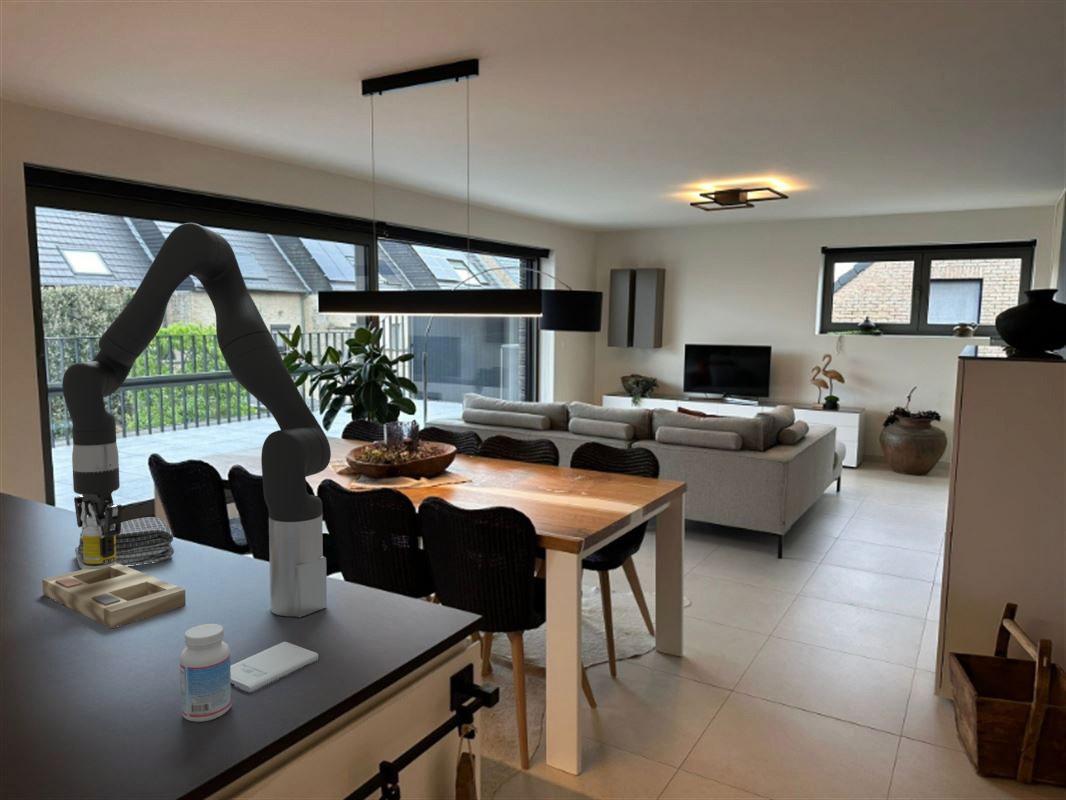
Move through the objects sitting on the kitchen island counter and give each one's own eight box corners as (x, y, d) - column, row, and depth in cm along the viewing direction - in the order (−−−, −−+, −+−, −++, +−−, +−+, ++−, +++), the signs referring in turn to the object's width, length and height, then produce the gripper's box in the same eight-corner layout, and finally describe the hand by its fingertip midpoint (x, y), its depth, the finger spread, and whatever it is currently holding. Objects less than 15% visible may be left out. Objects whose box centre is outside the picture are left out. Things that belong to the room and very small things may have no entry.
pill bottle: (241, 704, 98) (239, 625, 97) (207, 727, 92) (205, 643, 91) (206, 696, 100) (203, 618, 99) (170, 718, 94) (168, 635, 93)
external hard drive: (318, 663, 112) (250, 697, 101) (283, 650, 116) (214, 681, 105) (318, 653, 111) (249, 686, 101) (283, 640, 116) (213, 670, 105)
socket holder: (185, 605, 132) (185, 587, 132) (111, 628, 121) (111, 610, 121) (114, 576, 147) (114, 560, 146) (43, 594, 136) (42, 577, 136)
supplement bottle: (105, 570, 136) (103, 519, 135) (77, 569, 136) (75, 519, 135) (122, 561, 141) (120, 512, 140) (95, 560, 141) (93, 511, 140)
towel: (176, 561, 157) (175, 526, 156) (77, 576, 147) (75, 538, 146) (166, 543, 170) (165, 511, 169) (74, 556, 160) (73, 521, 159)
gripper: (135, 468, 135) (138, 555, 137) (98, 459, 144) (102, 541, 145) (93, 474, 129) (97, 565, 131) (56, 464, 137) (60, 550, 139)
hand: (99, 552), depth 138 cm, fingers closed on supplement bottle, 5 cm apart
